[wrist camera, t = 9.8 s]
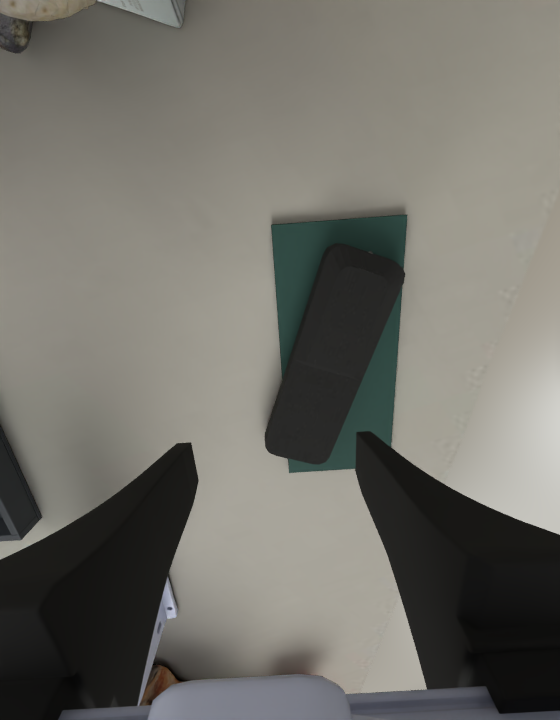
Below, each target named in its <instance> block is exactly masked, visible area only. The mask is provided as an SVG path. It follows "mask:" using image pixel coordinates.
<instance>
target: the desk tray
mask: <svg viewBox="0 0 560 720" xmlns="http://www.w3.org/2000/svg"><path fill="white" fill-rule="evenodd" d="M41 518H42V517H41V514H40V512H39V510H38V508H37V505H36V503H35V501H34V499H33V497H32V494H31V492H30V490H29V488H28V486H27V483H26V481H25V479H24V477H23V475H22V472H21V470H20V468H19V466H18V464H17V461H16V459H15V457H14V455H13V453H12V450H11V448H10V446H9V444H8V442H7V439H6V437H5V435H4V433H3V431H2V428H1V426H0V541H14V540H22V539H23V538H24V536H25V535H26V534H27V533H28V532H29V531H30V530H31V529H32V528H33V527H34V526H35V525H36V523H37V522H38V521H39V520H40V519H41Z"/></svg>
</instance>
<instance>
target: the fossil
mask: <svg viewBox="0 0 560 720" xmlns="http://www.w3.org/2000/svg"><path fill="white" fill-rule="evenodd" d="M96 1H97V0H0V13H2V14H4V15H7V16H10V17H14V18H18V19H23V20H27V21H52V20H56V19H64V18H65V17H70V16H72V15H73V14H75V13H77V12H79V11H81V10H82V8H85V9H88V7H89V6H91V5H94V4H95V3H96Z"/></svg>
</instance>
